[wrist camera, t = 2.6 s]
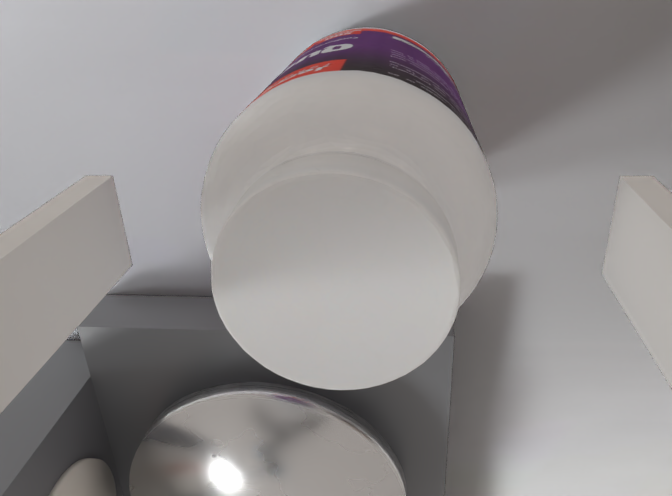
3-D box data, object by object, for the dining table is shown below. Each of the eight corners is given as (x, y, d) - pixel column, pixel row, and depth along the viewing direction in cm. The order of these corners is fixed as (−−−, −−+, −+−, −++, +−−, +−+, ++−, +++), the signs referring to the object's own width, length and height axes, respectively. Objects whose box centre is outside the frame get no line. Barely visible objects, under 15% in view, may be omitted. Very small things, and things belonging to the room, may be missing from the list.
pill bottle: (350, -20, 23) (288, 6, 10) (500, 107, 25) (611, 268, 12) (241, 137, 26) (90, 306, 13) (379, 240, 28) (363, 479, 15)
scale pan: (169, 553, 35) (155, 588, 33) (122, 363, 29) (102, 393, 27) (404, 568, 33) (404, 606, 31) (409, 372, 27) (409, 404, 25)
